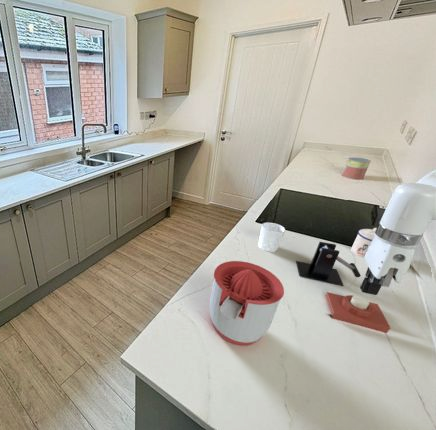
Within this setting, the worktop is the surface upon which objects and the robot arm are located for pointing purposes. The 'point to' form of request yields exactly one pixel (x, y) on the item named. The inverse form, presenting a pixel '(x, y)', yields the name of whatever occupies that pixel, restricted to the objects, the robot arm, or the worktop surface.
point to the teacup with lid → (363, 241)
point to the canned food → (356, 168)
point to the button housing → (357, 313)
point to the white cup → (270, 236)
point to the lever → (346, 264)
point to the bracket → (321, 265)
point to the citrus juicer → (243, 301)
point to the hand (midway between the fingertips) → (367, 291)
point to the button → (359, 302)
